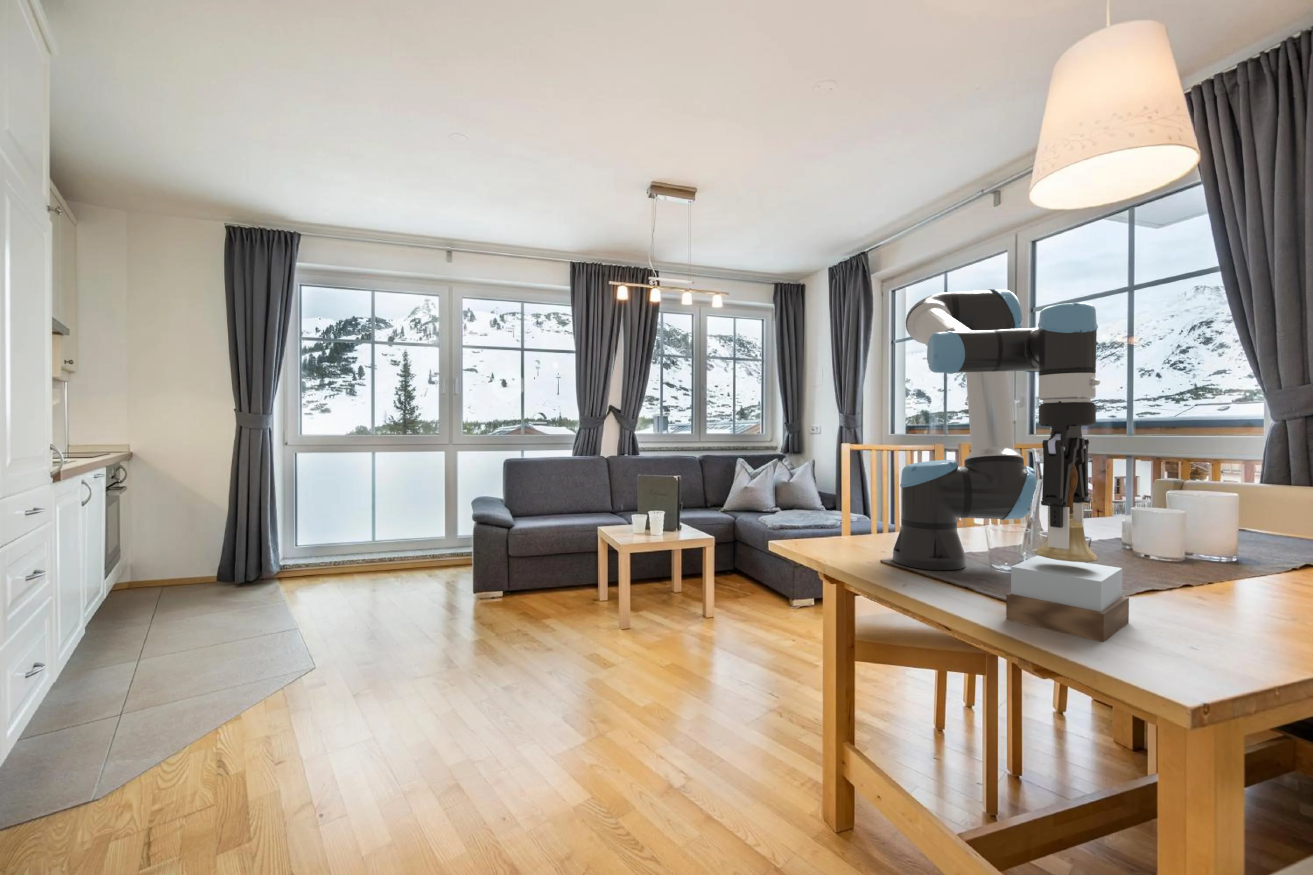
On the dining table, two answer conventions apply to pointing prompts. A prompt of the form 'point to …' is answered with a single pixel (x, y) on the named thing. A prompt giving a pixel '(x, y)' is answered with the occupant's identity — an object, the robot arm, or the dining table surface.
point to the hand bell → (1070, 534)
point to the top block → (1067, 582)
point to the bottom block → (1069, 616)
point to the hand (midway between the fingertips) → (1065, 544)
